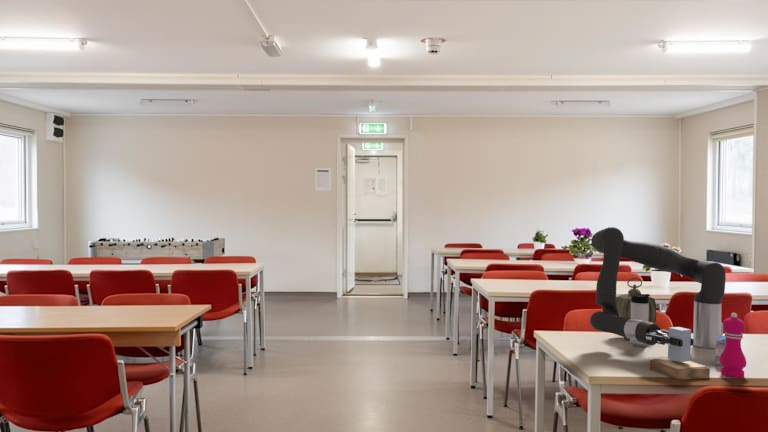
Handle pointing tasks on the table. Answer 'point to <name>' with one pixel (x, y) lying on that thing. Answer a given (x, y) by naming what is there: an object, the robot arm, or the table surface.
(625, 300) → the tabletop clock
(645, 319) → the travel mug
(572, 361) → the table surface
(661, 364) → the block
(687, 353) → the slate-blue block
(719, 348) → the label tape box
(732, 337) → the pepper mill
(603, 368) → the table surface
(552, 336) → the table surface
